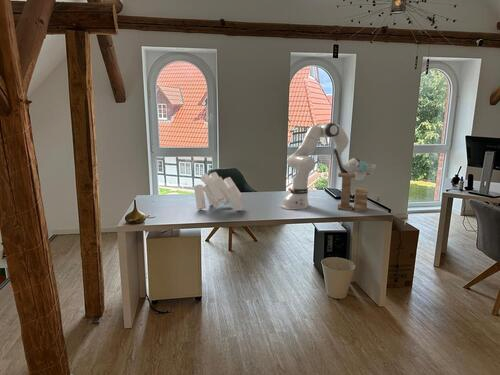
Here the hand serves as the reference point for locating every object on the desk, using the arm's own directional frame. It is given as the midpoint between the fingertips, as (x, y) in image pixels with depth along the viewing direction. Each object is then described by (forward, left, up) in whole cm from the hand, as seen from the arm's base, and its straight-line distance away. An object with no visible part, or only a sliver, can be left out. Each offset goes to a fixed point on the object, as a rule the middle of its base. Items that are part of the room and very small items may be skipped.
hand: (362, 163), depth 260 cm
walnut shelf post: (-13, 0, -33) cm, 36 cm away
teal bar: (-4, -6, -2) cm, 8 cm away
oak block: (-4, -6, -33) cm, 34 cm away
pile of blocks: (-101, +35, -34) cm, 112 cm away
